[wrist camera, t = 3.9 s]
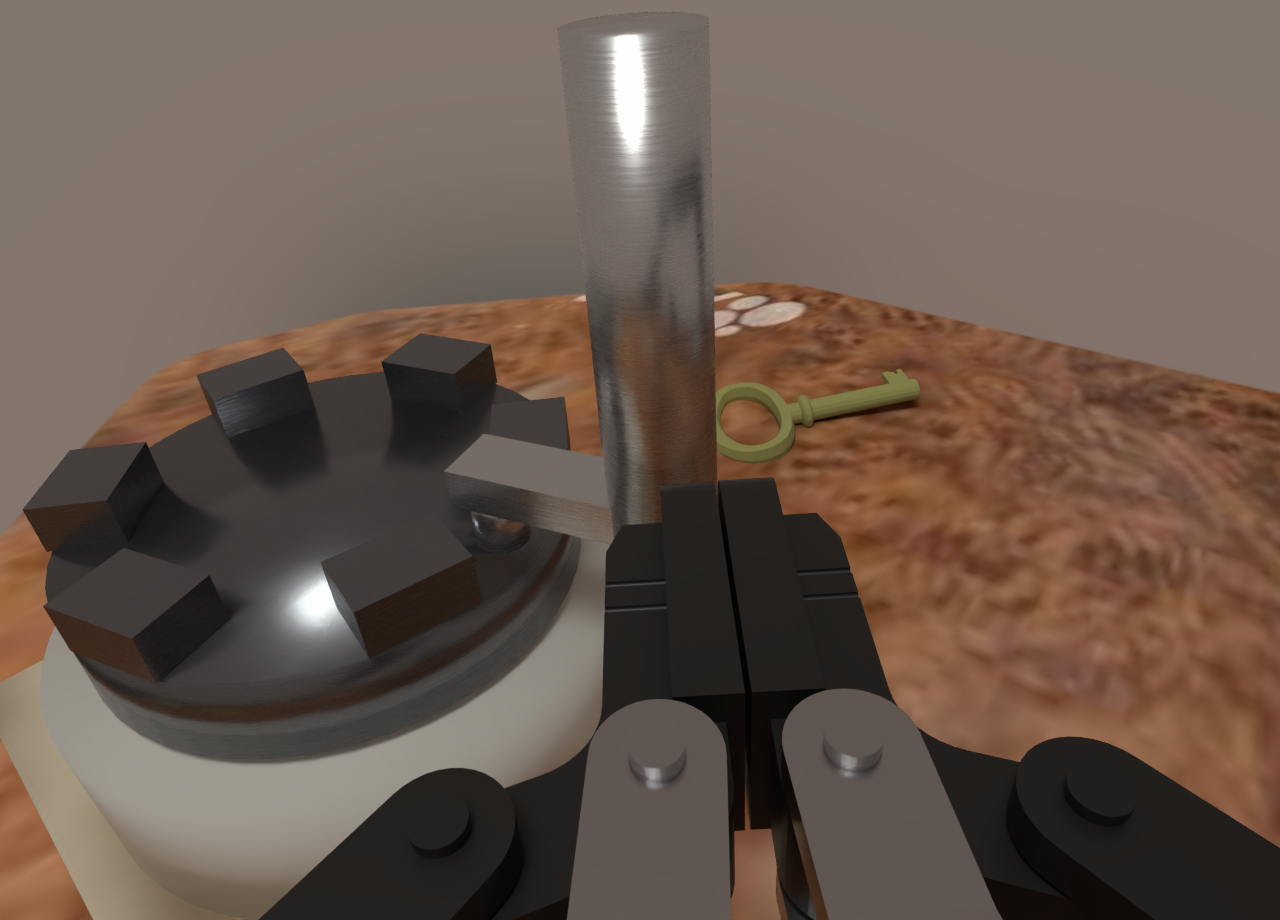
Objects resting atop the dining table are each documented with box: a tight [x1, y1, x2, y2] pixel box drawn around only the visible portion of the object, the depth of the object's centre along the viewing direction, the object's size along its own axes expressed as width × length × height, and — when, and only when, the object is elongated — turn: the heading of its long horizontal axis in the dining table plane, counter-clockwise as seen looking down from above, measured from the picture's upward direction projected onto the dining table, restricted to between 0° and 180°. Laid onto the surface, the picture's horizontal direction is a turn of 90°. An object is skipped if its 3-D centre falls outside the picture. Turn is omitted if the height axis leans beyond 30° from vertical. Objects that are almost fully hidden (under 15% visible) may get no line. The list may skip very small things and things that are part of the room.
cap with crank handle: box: [23, 12, 718, 759], centre depth 24 cm, size 16×21×17 cm
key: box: [716, 369, 920, 464], centre depth 50 cm, size 7×12×2 cm, turn 115°
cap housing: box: [40, 538, 610, 920], centre depth 32 cm, size 19×19×5 cm
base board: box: [0, 660, 248, 920], centre depth 34 cm, size 22×22×2 cm
